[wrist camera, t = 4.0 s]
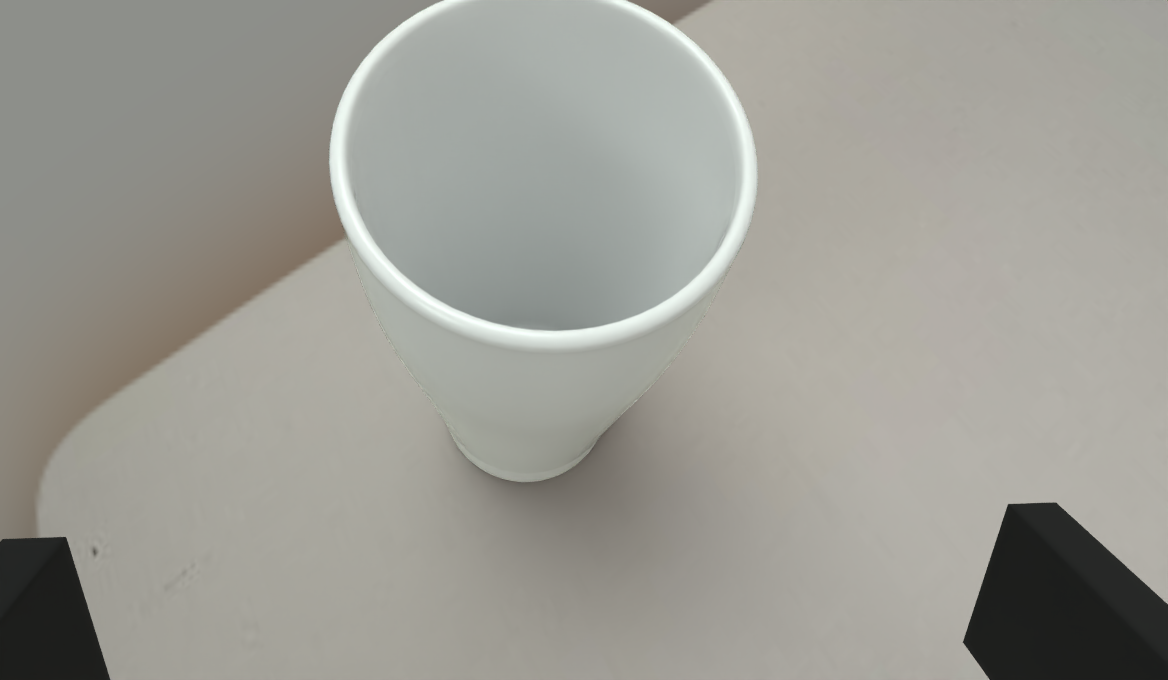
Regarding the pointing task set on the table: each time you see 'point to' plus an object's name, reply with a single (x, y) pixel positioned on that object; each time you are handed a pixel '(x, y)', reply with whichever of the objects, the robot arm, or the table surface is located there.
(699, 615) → the table surface
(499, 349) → the drinking glass
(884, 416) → the table surface
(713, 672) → the table surface
